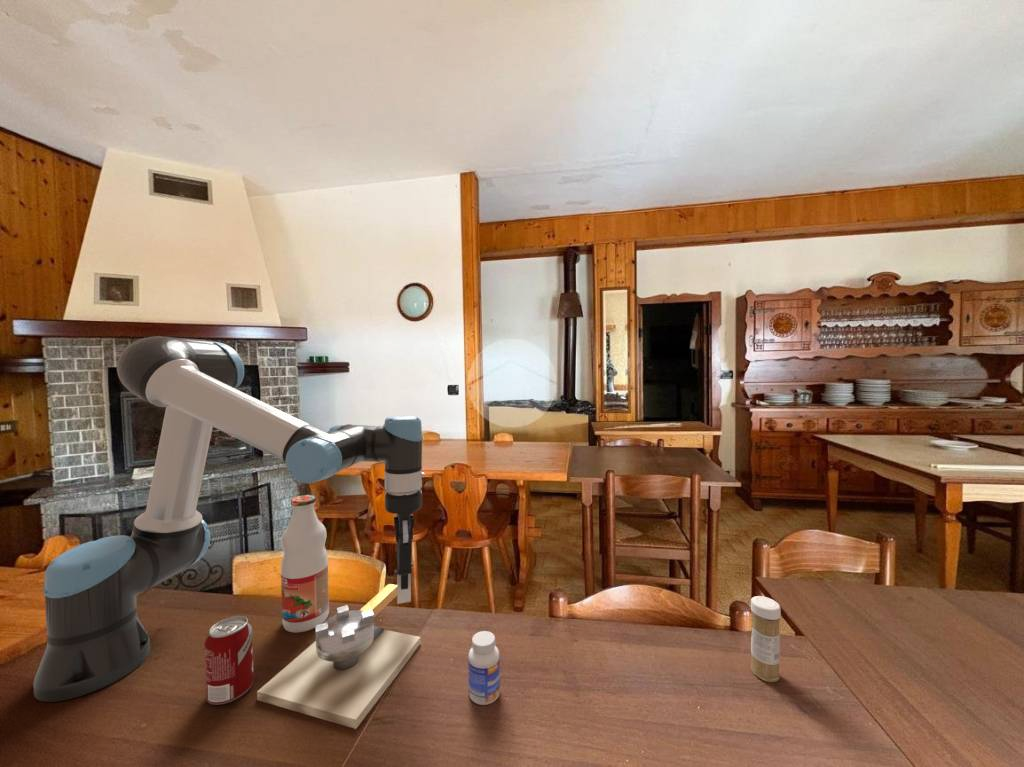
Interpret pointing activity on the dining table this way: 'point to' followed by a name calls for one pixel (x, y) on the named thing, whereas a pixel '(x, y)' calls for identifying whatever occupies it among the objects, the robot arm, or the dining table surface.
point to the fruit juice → (304, 568)
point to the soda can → (229, 660)
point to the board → (341, 679)
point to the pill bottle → (484, 669)
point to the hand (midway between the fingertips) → (404, 600)
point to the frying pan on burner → (351, 628)
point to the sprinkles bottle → (765, 638)
